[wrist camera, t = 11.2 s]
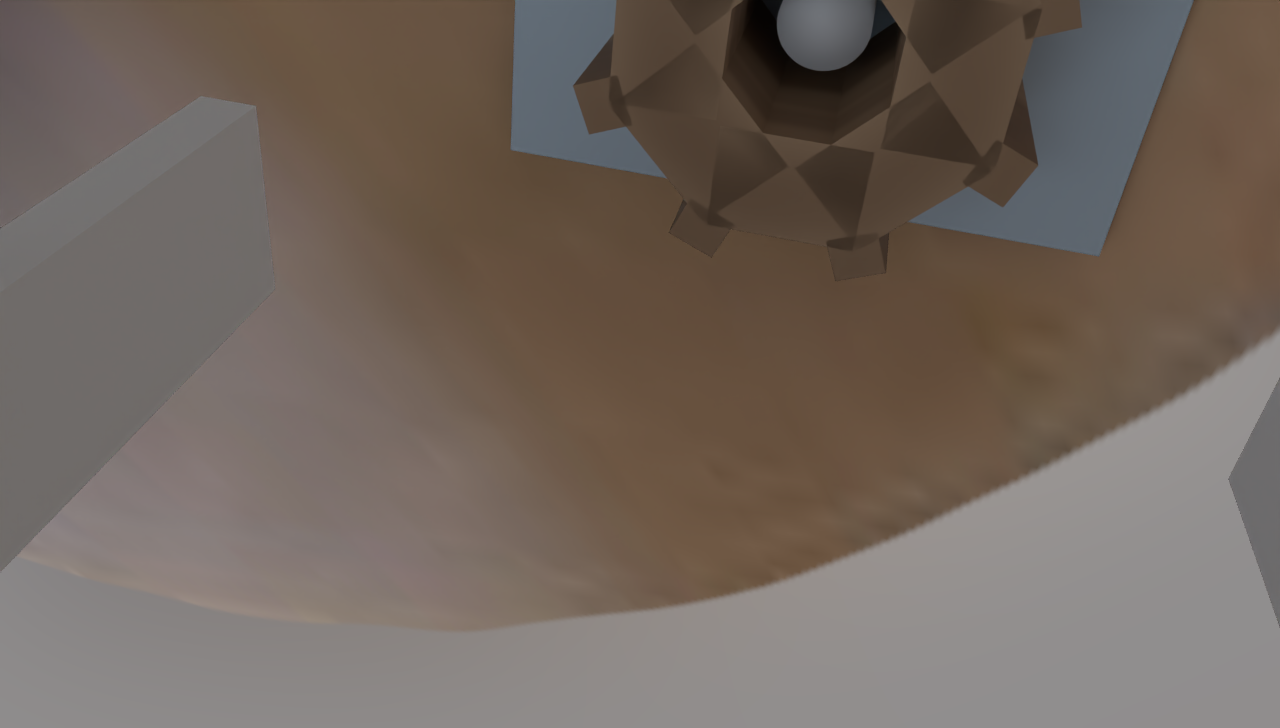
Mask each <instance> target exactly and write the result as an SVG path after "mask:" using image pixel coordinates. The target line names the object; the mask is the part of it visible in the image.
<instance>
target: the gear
mask: <svg viewBox="0 0 1280 728" xmlns="http://www.w3.org/2000/svg"><path fill="white" fill-rule="evenodd" d="M881 1H882V2H883V3H884V5H885V6H886V8H887V9H888V11H889V12H890V14H891V15H892V17H893V18H894V20H895V21H896V22H894V23H893V24H891V25H890V26H888V27H887V28H885V29H884V30H882V31H881V32H879V33H878V34H877V35H875V36H874V37H872V38H871V39H870V40H869V42H868V44H867V46H866V48H865V49H864V51H863V52H862V53H861V54H860V55H859V56H858V57H857V58H856V59H855V60H854V61H853V62H851V63H850V64H848V65H846V66H844V67H842V68H839V69H836V70H831V71H816V70H812V69H808V68H806V67H803V66H801V65H800V64H798V63H797V62H795V61H794V60H793V59H792V58H791V57H789V55H788V54H787V53H786V52H785V50H784V48H783V47H782V45H781V43H780V40H779V37H778V32H777V21H776V19H775V18H774V16H773V15H772V14H771V12H770V11H769V9H768V8H767V7H766V5H765V4H764V2H763V1H762V0H616V12H615V25H614V34H613V35H612V36H611V37H610V39H609V40H608V41H607V43H606V44H605V45H604V46H603V48H602V49H601V50H600V52H599V53H598V54H597V55H596V57H595V58H594V59H593V61H592V62H591V63H590V64H589V66H588V67H587V68H586V69H585V71H584V72H583V73H582V75H581V76H580V77H579V78H578V80H577V81H576V82H575V84H574V85H573V88H574V91H575V94H576V97H577V100H578V103H579V106H580V109H581V112H582V115H583V118H584V121H585V124H586V127H587V130H588V133H589V135H590V134H594V133H599V132H604V131H608V130H613V129H617V128H622V127H627V129H628V130H629V131H630V132H631V134H632V135H633V136H634V137H635V139H636V140H637V141H638V142H639V144H640V145H641V146H642V147H643V149H644V150H645V151H646V152H647V154H648V155H649V156H650V157H651V159H652V160H653V161H654V162H655V164H656V165H657V166H658V167H659V169H660V170H661V171H662V173H663V174H664V175H665V176H666V178H667V179H668V180H669V181H670V183H671V184H672V185H673V186H674V188H675V189H676V190H677V191H678V193H679V194H680V195H681V196H682V198H683V202H682V204H681V206H680V208H679V211H678V213H677V215H676V218H675V220H674V222H673V224H672V227H671V229H670V231H669V233H670V234H672V235H674V236H675V237H677V238H679V239H680V240H682V241H684V242H686V243H687V244H689V245H691V246H692V247H694V248H696V249H697V250H699V251H701V252H702V253H704V254H706V255H708V256H709V257H711V258H712V256H713V255H714V253H715V252H716V250H717V249H718V247H719V246H720V244H721V243H722V241H723V240H724V238H725V237H726V235H727V234H728V233H729V231H730V230H731V229H732V230H738V231H743V232H749V233H754V234H759V235H765V236H770V237H776V238H781V239H787V240H792V241H797V242H803V243H808V244H814V245H819V246H824V247H827V248H828V252H829V256H830V261H831V265H832V269H833V273H834V277H835V281H839V280H846V279H852V278H858V277H865V276H871V275H877V274H883V273H886V265H887V253H888V240H889V232H891V231H892V230H894V229H896V228H897V227H899V226H901V225H903V224H904V223H906V222H908V221H910V220H911V219H913V218H915V217H916V216H918V215H920V214H922V213H923V212H925V211H927V210H929V209H930V208H932V207H934V206H936V205H937V204H939V203H941V202H942V201H944V200H946V199H948V198H949V197H951V196H953V195H955V194H956V193H958V192H960V191H961V190H963V189H965V188H967V187H970V188H972V189H973V190H975V191H976V192H978V193H980V194H981V195H983V196H985V197H986V198H988V199H989V200H991V201H993V202H994V203H996V204H998V205H999V206H1001V207H1004V206H1005V205H1006V203H1007V202H1008V201H1009V200H1010V199H1011V198H1012V196H1013V195H1014V194H1015V193H1016V192H1017V190H1018V189H1019V188H1020V187H1021V186H1022V184H1023V183H1024V182H1025V181H1026V180H1027V178H1028V177H1029V176H1030V175H1031V174H1032V173H1033V171H1034V170H1035V169H1036V168H1037V167H1038V160H1037V155H1036V149H1035V144H1034V139H1033V133H1032V128H1031V123H1030V117H1029V112H1028V106H1027V101H1026V96H1025V90H1024V85H1023V80H1022V77H1023V74H1024V70H1025V67H1026V63H1027V60H1028V57H1029V53H1030V50H1031V46H1032V43H1033V40H1034V38H1036V37H1041V36H1046V35H1050V34H1055V33H1059V32H1064V31H1069V30H1073V29H1078V28H1082V21H1081V11H1080V1H1079V0H881Z"/></svg>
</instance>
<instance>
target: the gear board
mask: <svg viewBox="0 0 1280 728" xmlns="http://www.w3.org/2000/svg"><path fill="white" fill-rule="evenodd" d="M762 1H763V2H764V4H765V5H766V7H767V8H768V9H769V11H770V12H771V14H772V15H773V16H774V18H775V19H776V21H777V32H778V37H779V40H780V43H781V45H782V47H783V48H784V50H785V52H786V53H787V54H788V55H789V57H791V58H792V59H793V60H794V61H795V62H797V63H798V64H800V65H801V66H803V67H806V68H808V69H812V70H816V71H831V70H836V69H839V68H842V67H844V66H846V65H848V64H850V63H851V62H853V61H854V60H855V59H856V58H857V57H858V56H859V55H860V54H861V53H862V52H863V51H864V49H865V48H866V46H867V44H868V42H869V40H870V39H871V38H872V37H874V36H875V35H877V34H878V33H879V32H881V31H882V30H884V29H885V28H887V27H888V26H890V25H891V24H893V23H894V22H896V21H895V20H894V18H893V17H892V15H891V14H890V12H889V11H888V9H887V8H886V6H885V5H884V3H883V2H882V1H881V0H762ZM1079 1H1080V11H1081V21H1082V28H1078V29H1073V30H1069V31H1064V32H1059V33H1055V34H1050V35H1046V36H1041V37H1036V38H1034V40H1033V43H1032V46H1031V50H1030V53H1029V57H1028V60H1027V63H1026V67H1025V70H1024V74H1023V77H1022V80H1023V85H1024V90H1025V96H1026V101H1027V106H1028V112H1029V117H1030V123H1031V128H1032V133H1033V139H1034V144H1035V149H1036V155H1037V160H1038V167H1037V168H1036V169H1035V170H1034V171H1033V173H1032V174H1031V175H1030V176H1029V177H1028V178H1027V180H1026V181H1025V182H1024V183H1023V184H1022V186H1021V187H1020V188H1019V189H1018V190H1017V192H1016V193H1015V194H1014V195H1013V196H1012V198H1011V199H1010V200H1009V201H1008V202H1007V203H1006V205H1005V206H1004V207H1001V206H999V205H998V204H996V203H994V202H993V201H991V200H989V199H988V198H986V197H985V196H983V195H981V194H980V193H978V192H976V191H975V190H973V189H972V188H970V187H967V188H965V189H963V190H961V191H960V192H958V193H956V194H955V195H953V196H951V197H949V198H948V199H946V200H944V201H942V202H941V203H939V204H937V205H936V206H934V207H932V208H930V209H929V210H927V211H925V212H923V213H922V214H920V215H918V216H916V217H915V218H913V219H911V220H910V221H908V222H912V223H917V224H923V225H928V226H934V227H939V228H945V229H950V230H956V231H961V232H967V233H972V234H978V235H984V236H989V237H995V238H1000V239H1006V240H1011V241H1017V242H1022V243H1028V244H1033V245H1039V246H1044V247H1050V248H1055V249H1061V250H1066V251H1072V252H1077V253H1083V254H1089V255H1094V256H1099V255H1100V252H1101V250H1102V247H1103V244H1104V242H1105V239H1106V236H1107V233H1108V231H1109V228H1110V225H1111V223H1112V220H1113V217H1114V215H1115V212H1116V209H1117V206H1118V204H1119V201H1120V198H1121V196H1122V193H1123V190H1124V187H1125V185H1126V182H1127V179H1128V177H1129V174H1130V171H1131V169H1132V166H1133V163H1134V160H1135V158H1136V155H1137V152H1138V150H1139V147H1140V144H1141V142H1142V139H1143V136H1144V133H1145V131H1146V128H1147V125H1148V123H1149V120H1150V117H1151V114H1152V112H1153V109H1154V106H1155V104H1156V101H1157V98H1158V96H1159V93H1160V90H1161V87H1162V85H1163V82H1164V79H1165V77H1166V74H1167V71H1168V68H1169V66H1170V63H1171V60H1172V58H1173V55H1174V52H1175V50H1176V47H1177V44H1178V41H1179V39H1180V36H1181V33H1182V31H1183V28H1184V25H1185V23H1186V20H1187V17H1188V14H1189V12H1190V9H1191V6H1192V4H1193V1H1194V0H1079ZM615 12H616V0H515V27H514V59H513V92H512V125H511V150H514V151H519V152H525V153H530V154H536V155H541V156H547V157H552V158H558V159H563V160H569V161H575V162H580V163H586V164H591V165H597V166H602V167H608V168H613V169H619V170H624V171H630V172H635V173H641V174H646V175H652V176H657V177H663V178H666V176H665V175H664V174H663V173H662V171H661V170H660V169H659V167H658V166H657V165H656V164H655V162H654V161H653V160H652V159H651V157H650V156H649V155H648V154H647V152H646V151H645V150H644V149H643V147H642V146H641V145H640V144H639V142H638V141H637V140H636V139H635V137H634V136H633V135H632V134H631V132H630V131H629V130H628V129H627V127H622V128H617V129H613V130H608V131H604V132H599V133H594V134H590V135H589V133H588V130H587V127H586V124H585V121H584V118H583V115H582V112H581V109H580V106H579V103H578V100H577V97H576V94H575V91H574V88H573V85H574V84H575V82H576V81H577V80H578V78H579V77H580V76H581V75H582V73H583V72H584V71H585V69H586V68H587V67H588V66H589V64H590V63H591V62H592V61H593V59H594V58H595V57H596V55H597V54H598V53H599V52H600V50H601V49H602V48H603V46H604V45H605V44H606V43H607V41H608V40H609V39H610V37H611V36H612V35H613V34H614V25H615Z"/></svg>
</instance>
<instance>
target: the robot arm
mask: <svg viewBox="0 0 1280 728" xmlns="http://www.w3.org/2000/svg"><path fill="white" fill-rule="evenodd" d="M274 290H275V281H274V272H273V262H272V253H271V243H270V234H269V224H268V215H267V205H266V196H265V186H264V177H263V167H262V158H261V148H260V139H259V129H258V120H257V110H256V106H254V105H248V104H242V103H237V102H231V101H226V100H220V99H214V98H209V97H203V96H200V97H199V98H197V99H196V100H194V101H193V102H191V103H190V104H188V105H187V106H185V107H184V108H182V109H181V110H179V111H178V112H176V113H175V114H173V115H172V116H170V117H169V118H167V119H166V120H164V121H163V122H161V123H159V124H158V125H156V126H155V127H153V128H152V129H150V130H149V131H147V132H146V133H144V134H143V135H141V136H140V137H138V138H137V139H135V140H134V141H132V142H131V143H129V144H128V145H126V146H125V147H123V148H122V149H120V150H119V151H117V152H116V153H114V154H113V155H111V156H109V157H108V158H106V159H105V160H103V161H102V162H100V163H99V164H97V165H96V166H94V167H93V168H91V169H90V170H88V171H87V172H85V173H84V174H82V175H81V176H79V177H78V178H76V179H75V180H73V181H72V182H70V183H69V184H67V185H66V186H64V187H63V188H61V189H59V190H58V191H56V192H55V193H53V194H52V195H50V196H49V197H47V198H46V199H44V200H43V201H41V202H40V203H38V204H37V205H35V206H34V207H32V208H31V209H29V210H28V211H26V212H25V213H23V214H22V215H20V216H19V217H17V218H16V219H14V220H13V221H11V222H9V223H8V224H6V225H5V226H3V227H2V228H0V572H1V571H2V570H3V569H4V568H5V567H6V566H7V565H8V564H9V563H10V562H11V561H12V560H13V559H14V558H15V557H16V556H17V555H18V554H19V553H20V552H21V550H22V549H23V548H24V547H25V546H26V545H27V544H28V543H29V542H30V541H31V540H32V539H33V538H34V537H35V536H36V535H37V534H38V533H39V532H40V531H41V530H42V529H43V528H44V527H45V526H46V525H47V524H48V523H49V522H50V521H51V520H52V519H53V518H54V516H55V515H56V514H57V513H58V512H59V511H60V510H61V509H62V508H63V507H64V506H65V505H66V504H67V503H68V502H69V501H70V500H71V499H72V498H73V497H74V496H75V495H76V494H77V493H78V492H79V491H80V490H81V489H82V488H83V487H84V486H85V485H86V484H87V483H88V481H89V480H90V479H91V478H92V477H93V476H94V475H95V474H96V473H97V472H98V471H99V470H100V469H101V468H102V467H103V466H104V465H105V464H106V463H107V462H108V461H109V460H110V459H111V458H112V457H113V456H114V455H115V454H116V453H117V452H118V451H119V450H120V449H121V447H122V446H123V445H124V444H125V443H126V442H127V441H128V440H129V439H130V438H131V437H132V436H133V435H134V434H135V433H136V432H137V431H138V430H139V429H140V428H141V427H142V426H143V425H144V424H145V423H146V422H147V421H148V420H149V419H150V418H151V417H152V416H153V415H154V414H155V412H156V411H157V410H158V409H159V408H160V407H161V406H162V405H163V404H164V403H165V402H166V401H167V400H168V399H169V398H170V397H171V396H172V395H173V394H174V393H175V392H176V391H177V390H178V389H179V388H180V387H181V386H182V385H183V384H184V383H185V382H186V381H187V380H188V378H189V377H190V376H191V375H192V374H193V373H194V372H195V371H196V370H197V369H198V368H199V367H200V366H201V365H202V364H203V363H204V362H205V361H206V360H207V359H208V358H209V357H210V356H211V355H212V354H213V353H214V352H215V351H216V350H217V349H218V348H219V347H220V346H221V345H222V343H223V342H224V341H225V340H226V339H227V338H228V337H229V336H230V335H231V334H232V333H233V332H234V331H235V330H236V329H237V328H238V327H239V326H240V325H241V324H242V323H243V322H244V321H245V320H246V319H247V318H248V317H249V316H250V315H251V314H252V313H253V312H254V311H255V309H256V308H257V307H258V306H259V305H260V304H261V303H262V302H263V301H264V300H265V299H266V298H267V297H268V296H269V295H270V294H271V293H272V292H273V291H274ZM1229 482H1230V485H1231V488H1232V490H1233V493H1234V496H1235V499H1236V502H1237V505H1238V508H1239V511H1240V514H1241V517H1242V520H1243V522H1244V525H1245V528H1246V531H1247V534H1248V536H1249V539H1250V543H1251V545H1252V548H1253V551H1254V554H1255V557H1256V560H1257V563H1258V566H1259V568H1260V572H1261V574H1262V577H1263V580H1264V583H1265V586H1266V589H1267V591H1268V595H1269V598H1270V600H1271V603H1272V606H1273V609H1274V612H1275V615H1276V618H1277V621H1278V623H1279V626H1280V379H1279V381H1278V383H1277V384H1276V387H1275V388H1274V390H1273V392H1272V394H1271V396H1270V398H1269V400H1268V402H1267V404H1266V406H1265V408H1264V410H1263V412H1262V414H1261V416H1260V418H1259V420H1258V422H1257V424H1256V426H1255V428H1254V429H1253V431H1252V433H1251V435H1250V437H1249V439H1248V441H1247V443H1246V445H1245V447H1244V449H1243V451H1242V453H1241V455H1240V457H1239V459H1238V461H1237V463H1236V465H1235V467H1234V469H1233V471H1232V473H1231V475H1230V477H1229Z"/></svg>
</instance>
